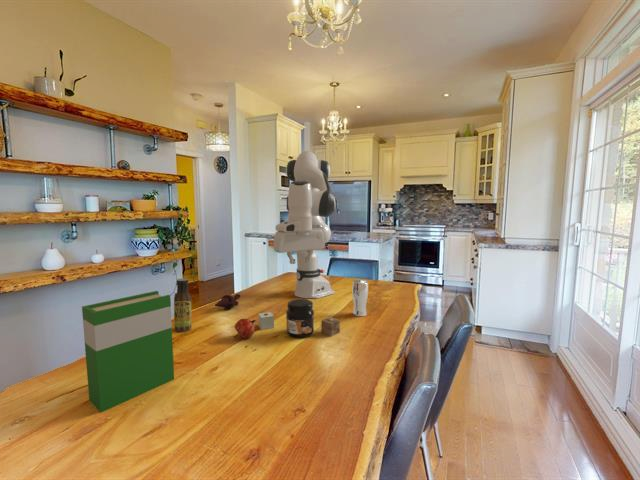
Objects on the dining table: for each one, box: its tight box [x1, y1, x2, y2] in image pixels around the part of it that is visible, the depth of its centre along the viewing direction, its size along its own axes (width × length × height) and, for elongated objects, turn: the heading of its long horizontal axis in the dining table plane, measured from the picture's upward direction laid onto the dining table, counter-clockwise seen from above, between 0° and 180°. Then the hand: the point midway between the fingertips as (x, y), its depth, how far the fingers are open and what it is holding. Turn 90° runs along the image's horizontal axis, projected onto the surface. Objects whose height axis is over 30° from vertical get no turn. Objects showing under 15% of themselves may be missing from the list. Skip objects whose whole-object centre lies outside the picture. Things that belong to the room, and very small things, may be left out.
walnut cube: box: [320, 316, 341, 337], centre depth 119 cm, size 5×5×5 cm
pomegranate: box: [233, 318, 257, 340], centre depth 114 cm, size 7×7×10 cm
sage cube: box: [257, 311, 275, 331], centre depth 125 cm, size 5×5×5 cm
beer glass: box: [351, 279, 369, 318], centre depth 139 cm, size 7×7×15 cm
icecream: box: [214, 293, 241, 311], centre depth 145 cm, size 7×7×15 cm
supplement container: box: [285, 298, 315, 339], centre depth 118 cm, size 10×10×12 cm
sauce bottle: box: [173, 278, 192, 333], centre depth 120 cm, size 6×6×20 cm
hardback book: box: [81, 290, 175, 413], centre depth 81 cm, size 18×7×24 cm, turn 143°
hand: (300, 262), depth 116 cm, fingers open, 5 cm apart
